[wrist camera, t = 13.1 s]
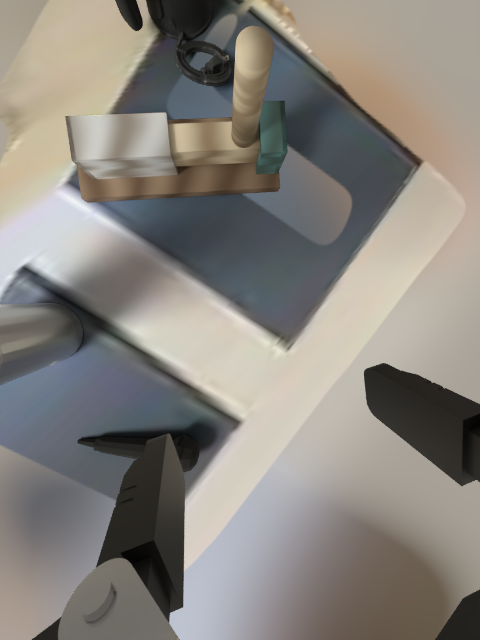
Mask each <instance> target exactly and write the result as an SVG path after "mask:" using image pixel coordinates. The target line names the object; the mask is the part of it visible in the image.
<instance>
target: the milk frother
mask: <svg viewBox="0 0 480 640" xmlns="http://www.w3.org/2000/svg"><path fill="white" fill-rule="evenodd" d="M115 1H116V3H117V6H118V8H119V10H120V13H121V15H122V16H123V18H124V19H125V21H126V22H127V23H128V25H129V26H130V27H131V28H132V29H133V30H135V31H139V30H140V29H141V28H142V26H143V21H142V17H141V14H140V11H139V7H138V4H137V1H136V0H115ZM146 2H147V7H148V11H149V14H150V16H151V18H152V20H153V22H154V23H155V24H156V26H157V27H158V28H159V29H160V30H161V31H162V32H163V33H165V34H166V35H168V36H170V37H172V38H175V39H178V42H177V46H176V51H175V61H176V65H177V67H178V68H179V70H180V71H181V72H182V74H184V75H185V76H186V77H187V78H189V79H191V80H192V81H195V82H197V83H199V84H203V85H207V86H221V85H224V84H226V83H227V82H228V81H229V80H230V78H231V75H232V65H231V62H230V60H229V56H228V55H226V54H225V53H224V52H223V51H222V50H221V49H220V48H219V47H217V46H216V45H214V44H211V43H207V42H204V41H190V42H187V43H184V44H182V45H181V43H182V41H183V40H185V39H191V38H193V37H196V36H197V35H199V34H200V33H202V32H203V30H205V28H206V27H207V25H208V24H209V21H210V19H211V15H212V8H213V3H212V0H146ZM192 52H204V53H208V54H211V55H213V56H214V57H213V58H212V59H211V60H210V61H209V62H208V63H206V65H205V67H204V68H201V71H198V70H196V69H194V68H193V67H191V66H190V65H189V64H188V63H187V61H186V56H187V55H188V54H190V53H192Z"/></svg>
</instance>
